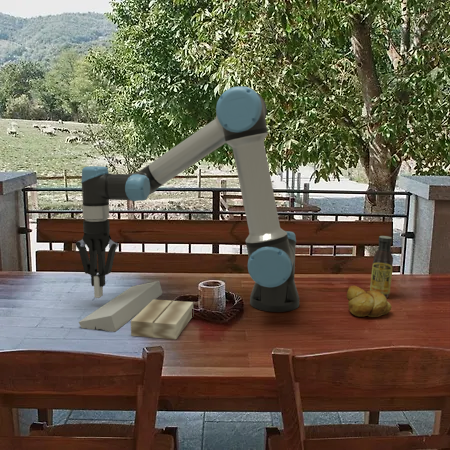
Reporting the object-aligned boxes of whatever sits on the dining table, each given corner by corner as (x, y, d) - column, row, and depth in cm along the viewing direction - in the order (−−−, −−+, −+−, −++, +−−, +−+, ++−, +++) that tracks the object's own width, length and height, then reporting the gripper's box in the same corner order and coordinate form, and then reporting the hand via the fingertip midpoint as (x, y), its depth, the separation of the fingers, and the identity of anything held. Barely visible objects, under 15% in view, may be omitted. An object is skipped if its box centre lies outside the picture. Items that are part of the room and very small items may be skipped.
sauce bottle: (368, 298, 164) (372, 237, 161) (370, 292, 170) (374, 234, 167) (389, 300, 162) (393, 239, 159) (391, 295, 168) (395, 235, 164)
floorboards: (193, 315, 147) (193, 301, 146) (176, 339, 130) (175, 323, 129) (153, 312, 149) (153, 298, 148) (131, 335, 132) (130, 319, 131)
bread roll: (387, 309, 154) (389, 284, 153) (396, 321, 144) (398, 293, 143) (344, 308, 155) (345, 282, 153) (350, 319, 145) (351, 292, 144)
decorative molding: (83, 338, 137) (116, 332, 134) (78, 322, 136) (111, 315, 134) (135, 300, 170) (163, 294, 167) (131, 286, 169) (159, 280, 166)
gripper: (122, 218, 152) (123, 294, 156) (81, 216, 155) (84, 291, 159) (112, 222, 145) (114, 301, 149) (69, 220, 147) (72, 298, 151)
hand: (98, 296), depth 154 cm, fingers closed
